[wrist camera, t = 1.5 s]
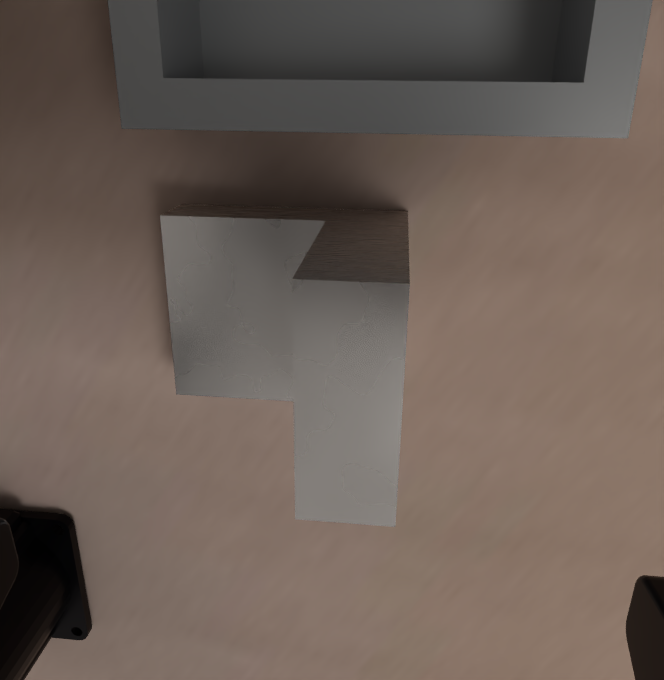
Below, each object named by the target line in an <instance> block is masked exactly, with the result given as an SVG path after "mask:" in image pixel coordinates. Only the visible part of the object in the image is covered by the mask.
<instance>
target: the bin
mask: <svg viewBox="0 0 664 680" xmlns="http://www.w3.org/2000/svg"><path fill="white" fill-rule="evenodd" d="M652 1H653V0H108V7H109V17H110V26H111V35H112V44H113V53H114V63H115V72H116V81H117V90H118V99H119V108H120V118H121V127H122V129H166V130H219V131H273V132H326V133H379V134H432V135H486V136H539V137H592V138H628V135H629V130H630V124H631V118H632V113H633V107H634V102H635V96H636V90H637V85H638V79H639V74H640V68H641V62H642V57H643V51H644V46H645V40H646V34H647V29H648V23H649V18H650V12H651V6H652Z"/></svg>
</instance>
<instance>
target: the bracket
mask: <svg viewBox="0 0 664 680" xmlns="http://www.w3.org/2000/svg"><path fill="white" fill-rule="evenodd" d="M160 221H161V232H162V243H163V254H164V264H165V275H166V286H167V297H168V308H169V319H170V330H171V341H172V352H173V362H174V373H175V384H176V394H179V395H196V396H213V397H230V398H246V399H263V400H280V401H294V469H295V519H300V520H313V521H326V522H339V523H352V524H364V525H377V526H390V527H395V524H396V507H397V490H398V473H399V456H400V439H401V422H402V406H403V389H404V372H405V355H406V338H407V321H408V304H409V287H410V276H409V237H408V211H401V210H368V209H334V208H301V207H268V206H235V205H202V204H180V205H179V206H177V207H175V208H173V209H171V210H169V211H167V212H166V213H164V214H162V215H160Z"/></svg>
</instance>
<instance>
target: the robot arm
mask: <svg viewBox="0 0 664 680" xmlns="http://www.w3.org/2000/svg"><path fill="white" fill-rule="evenodd" d="M58 525H59V526H61V527H62V528H60V527H59V526H58ZM91 629H92V623H91V617H90V612H89V606H88V600H87V595H86V589H85V583H84V578H83V572H82V566H81V560H80V555H79V549H78V543H77V538H76V532H75V526H74V523H73V521H72V519H71V518H70V517H68V516H67V515H64V514H58V513H45V512H32V511H20V510H7V509H0V680H24V679H25V678H26V676H27V675H28V673H29V672H30V670H31V668H32V667H33V665H34V664H35V662H36V661H37V659H38V657H39V656H40V654H41V653H42V651H43V650H44V648H45V646H46V645H47V643H48V642H49V640H50V639H51V637H52V638H62V639H72V640H83V639H85V638H86V637H87V636H88V634H89V632H90V631H91ZM626 637H627V643H628V647H629V652H630V657H631V662H632V666H633V671H634V676H635V680H664V577H658V576H647V575H643V576H640V577H639V578H638V579H637V581H636V583H635V587H634V591H633V595H632V599H631V603H630V607H629V612H628V616H627V620H626Z"/></svg>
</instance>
